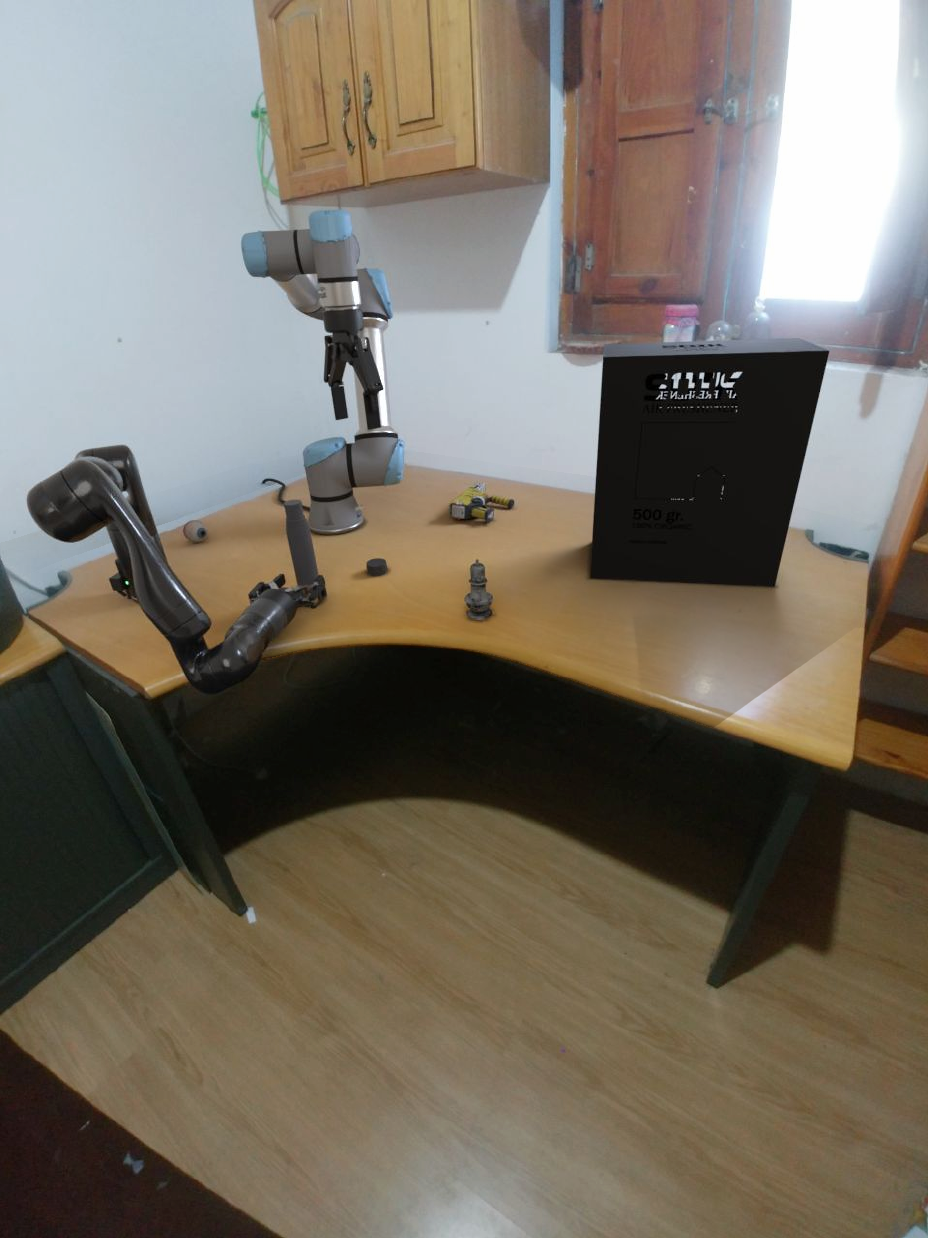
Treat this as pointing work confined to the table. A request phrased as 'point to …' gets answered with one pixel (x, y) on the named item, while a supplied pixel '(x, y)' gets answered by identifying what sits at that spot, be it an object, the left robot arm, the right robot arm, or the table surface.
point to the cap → (376, 567)
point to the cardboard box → (701, 458)
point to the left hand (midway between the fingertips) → (302, 578)
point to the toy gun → (476, 504)
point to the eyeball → (195, 531)
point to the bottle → (300, 544)
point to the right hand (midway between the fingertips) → (357, 423)
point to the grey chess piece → (478, 594)
